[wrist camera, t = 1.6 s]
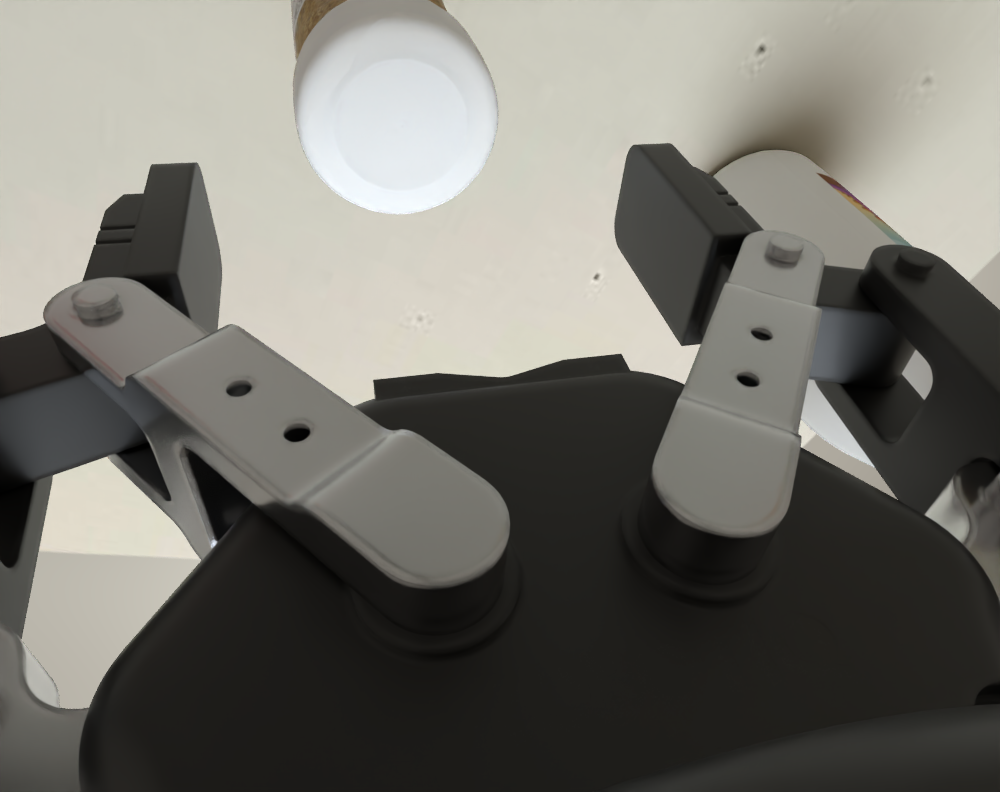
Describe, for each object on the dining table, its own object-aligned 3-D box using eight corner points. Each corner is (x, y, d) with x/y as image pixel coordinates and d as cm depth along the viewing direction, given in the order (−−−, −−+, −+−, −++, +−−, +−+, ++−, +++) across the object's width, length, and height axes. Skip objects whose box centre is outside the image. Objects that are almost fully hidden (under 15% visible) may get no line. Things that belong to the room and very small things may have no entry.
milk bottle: (667, 291, 39) (890, 624, 25) (684, 157, 34) (983, 488, 20) (798, 266, 40) (1084, 573, 26) (836, 132, 34) (1224, 429, 21)
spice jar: (429, 21, 27) (516, 194, 18) (310, 51, 27) (335, 242, 17) (397, -126, 24) (483, -9, 14) (262, -92, 24) (260, 48, 14)
